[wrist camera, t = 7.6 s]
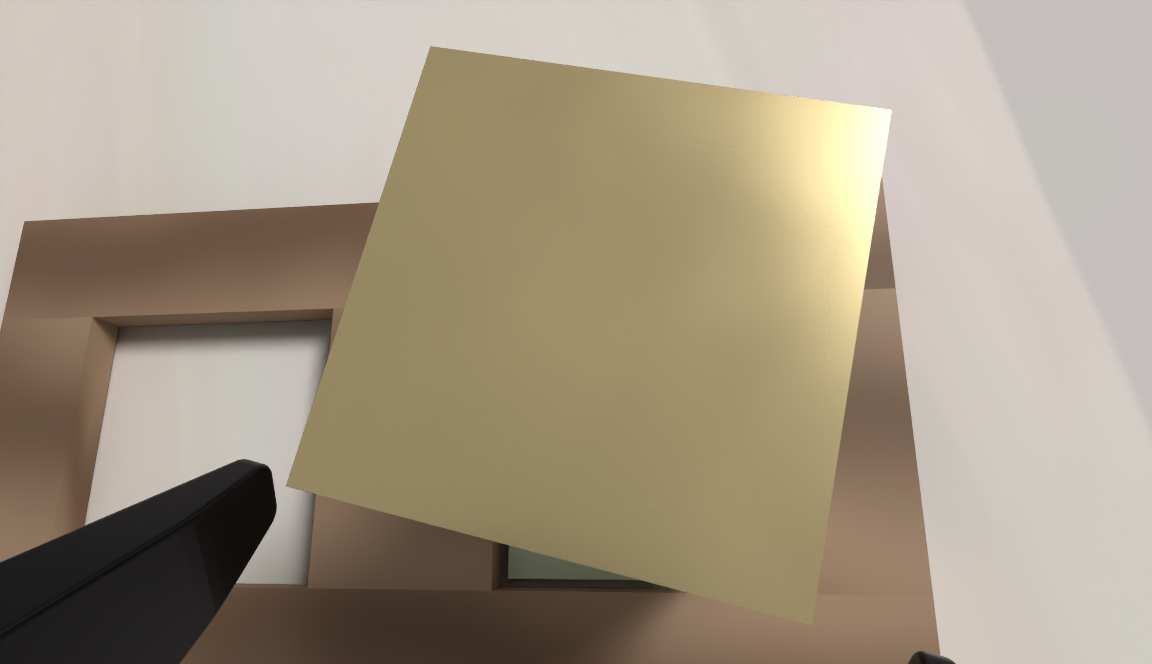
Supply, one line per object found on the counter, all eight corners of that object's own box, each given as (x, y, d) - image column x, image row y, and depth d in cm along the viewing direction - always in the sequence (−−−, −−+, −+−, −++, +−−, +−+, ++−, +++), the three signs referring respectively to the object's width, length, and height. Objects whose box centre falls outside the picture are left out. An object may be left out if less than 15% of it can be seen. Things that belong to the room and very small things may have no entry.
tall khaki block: (711, 555, 17) (811, 625, 5) (532, 509, 18) (285, 486, 6) (746, 374, 18) (891, 110, 6) (574, 339, 19) (430, 46, 7)
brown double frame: (933, 737, 16) (952, 751, 15) (-44, 703, 18) (-84, 713, 17) (870, 192, 19) (881, 175, 18) (52, 234, 22) (24, 221, 21)
